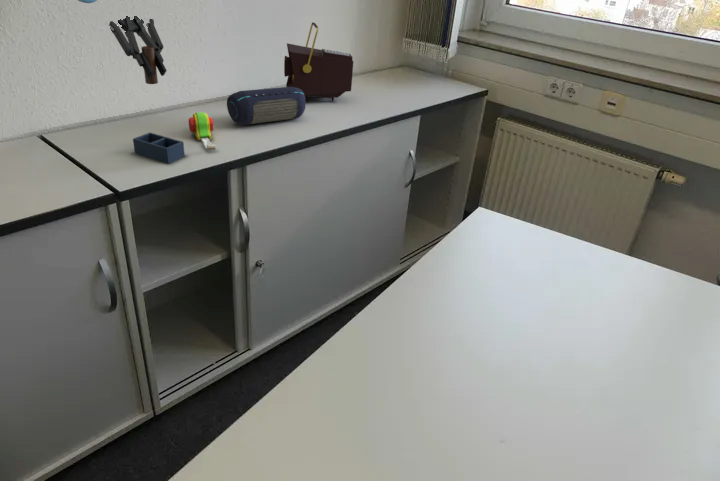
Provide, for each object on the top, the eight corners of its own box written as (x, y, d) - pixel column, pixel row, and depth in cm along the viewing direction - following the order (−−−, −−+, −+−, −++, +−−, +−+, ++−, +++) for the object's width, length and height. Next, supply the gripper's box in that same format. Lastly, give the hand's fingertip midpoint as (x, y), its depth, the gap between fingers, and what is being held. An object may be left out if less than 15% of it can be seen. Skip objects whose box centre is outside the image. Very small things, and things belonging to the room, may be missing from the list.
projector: (282, 91, 199) (283, 19, 187) (344, 93, 204) (349, 23, 192) (285, 103, 185) (286, 26, 173) (351, 105, 190) (357, 30, 178)
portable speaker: (238, 130, 160) (237, 96, 155) (224, 120, 167) (223, 88, 162) (310, 121, 174) (312, 90, 169) (295, 112, 180) (295, 82, 176)
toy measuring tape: (208, 128, 162) (207, 106, 159) (223, 150, 147) (222, 126, 144) (186, 129, 159) (184, 107, 156) (199, 151, 144) (197, 128, 141)
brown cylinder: (143, 83, 158) (138, 47, 152) (149, 80, 160) (145, 45, 155) (154, 84, 157) (149, 49, 152) (160, 82, 160) (156, 46, 155)
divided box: (151, 146, 146) (149, 132, 144) (184, 156, 143) (183, 141, 140) (134, 153, 142) (132, 138, 140) (168, 163, 138) (166, 148, 136)
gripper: (94, -5, 147) (133, 70, 147) (150, -7, 158) (187, 63, 158) (88, 12, 153) (126, 85, 152) (143, 9, 164) (178, 77, 163)
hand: (157, 74), depth 155 cm, fingers closed on brown cylinder, 3 cm apart
